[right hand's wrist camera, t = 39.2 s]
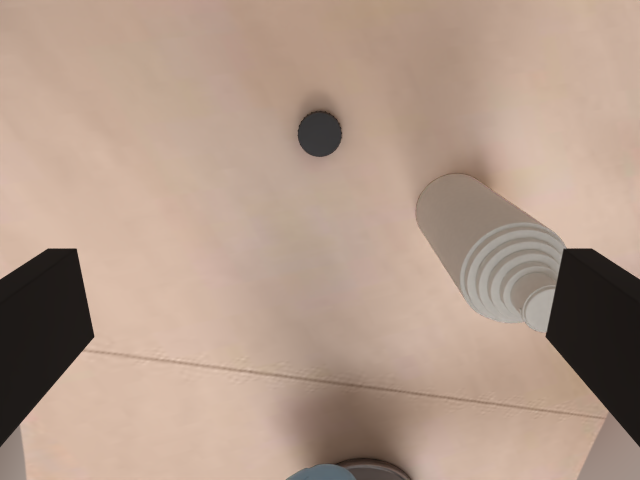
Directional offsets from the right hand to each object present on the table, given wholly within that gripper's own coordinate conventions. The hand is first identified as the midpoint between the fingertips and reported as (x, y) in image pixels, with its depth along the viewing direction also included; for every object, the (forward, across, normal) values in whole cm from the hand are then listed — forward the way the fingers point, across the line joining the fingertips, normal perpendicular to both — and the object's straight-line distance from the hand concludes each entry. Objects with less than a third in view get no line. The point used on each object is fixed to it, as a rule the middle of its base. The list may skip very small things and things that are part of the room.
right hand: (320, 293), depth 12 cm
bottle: (+35, +14, -8) cm, 39 cm away
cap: (+34, 0, 0) cm, 34 cm away
